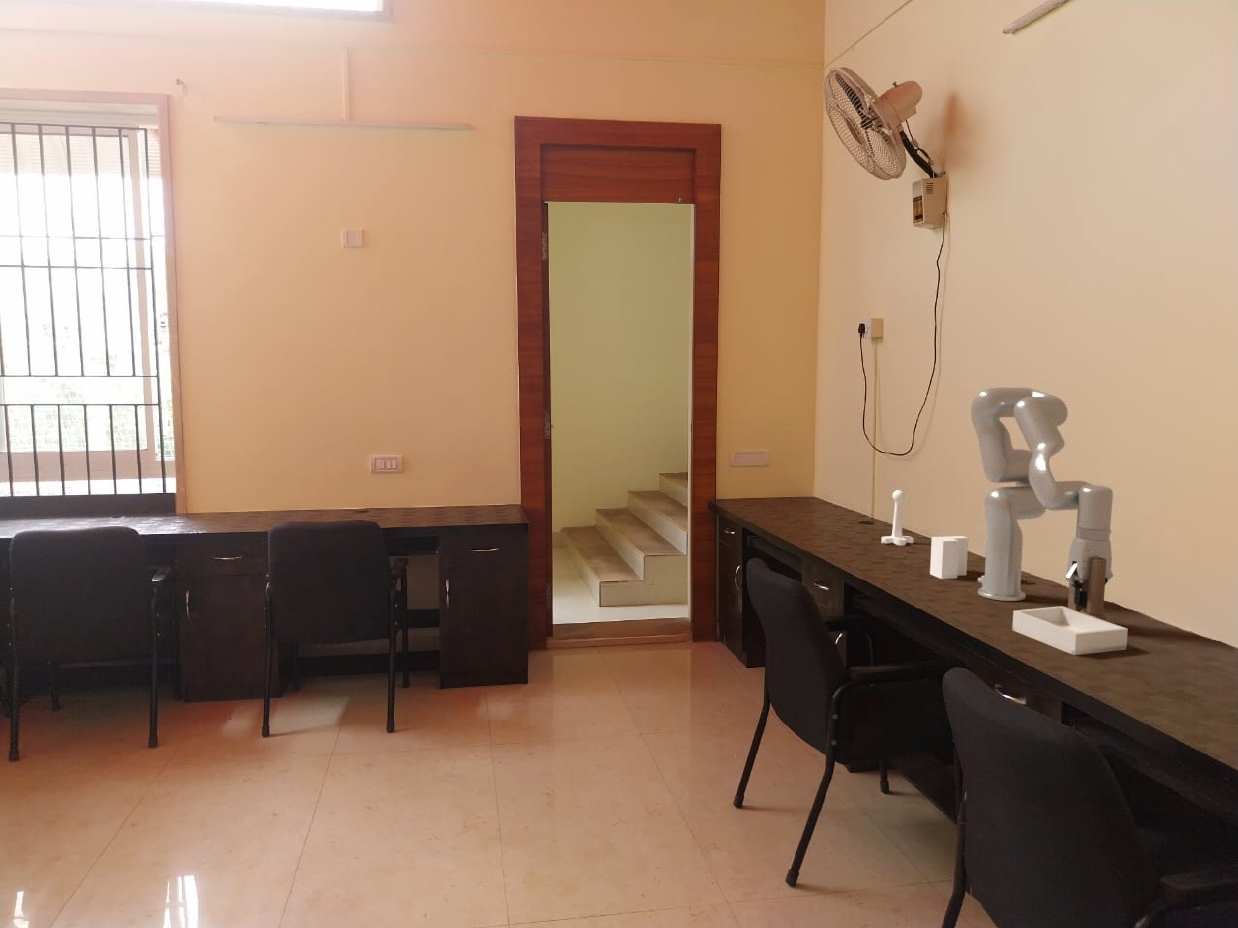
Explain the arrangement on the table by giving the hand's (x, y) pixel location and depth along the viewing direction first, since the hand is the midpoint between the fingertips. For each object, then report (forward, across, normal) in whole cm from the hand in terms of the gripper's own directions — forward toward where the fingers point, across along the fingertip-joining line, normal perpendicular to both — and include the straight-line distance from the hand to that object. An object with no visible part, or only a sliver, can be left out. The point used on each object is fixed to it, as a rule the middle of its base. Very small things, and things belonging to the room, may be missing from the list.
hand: (1087, 603), depth 225 cm
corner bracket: (+7, -1, -56) cm, 57 cm away
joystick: (+7, -14, -102) cm, 103 cm away
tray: (+6, +14, +8) cm, 17 cm away
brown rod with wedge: (+6, 0, 0) cm, 6 cm away
